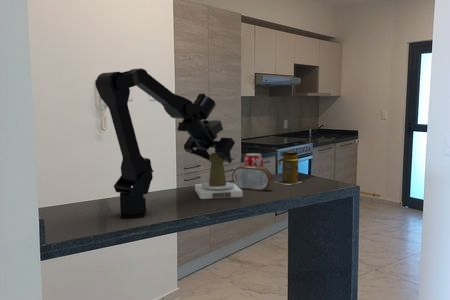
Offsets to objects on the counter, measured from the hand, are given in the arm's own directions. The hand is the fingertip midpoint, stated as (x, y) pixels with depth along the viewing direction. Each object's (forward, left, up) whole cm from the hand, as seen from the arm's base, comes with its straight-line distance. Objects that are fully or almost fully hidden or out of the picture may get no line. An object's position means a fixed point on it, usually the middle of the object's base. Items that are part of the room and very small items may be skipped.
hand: (220, 160), depth 141 cm
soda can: (+14, +8, -11) cm, 20 cm away
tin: (+12, +3, -11) cm, 17 cm away
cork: (-1, -1, -8) cm, 8 cm away
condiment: (+29, +12, -11) cm, 33 cm away
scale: (-1, -1, -11) cm, 11 cm away
